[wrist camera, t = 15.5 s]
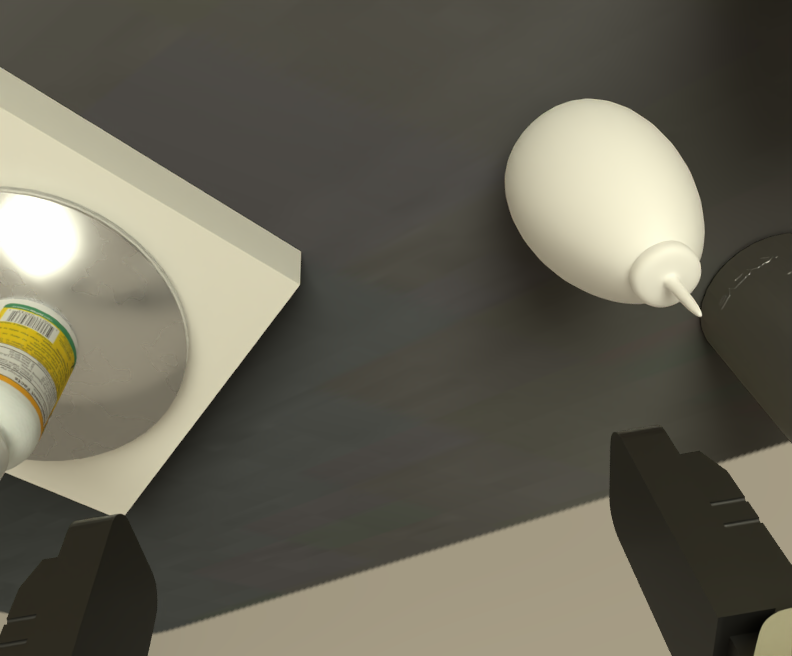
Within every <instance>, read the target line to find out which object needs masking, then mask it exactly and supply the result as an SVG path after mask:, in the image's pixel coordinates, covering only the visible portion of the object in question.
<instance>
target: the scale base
mask: <svg viewBox="0 0 792 656" xmlns="http://www.w3.org/2000/svg"><path fill="white" fill-rule="evenodd" d="M0 186H10V187H17V188H25V189H32V190H36V191H40V192H44V193H48V194H52V195H56V196H59V197H62V198H64V199H67V200H70V201H73V202H75V203H78V204H80V205H82V206H84V207H86V208H88V209H90V210H92V211H94V212H96V213H98V214H100V215H102V216H104V217H105V218H107V219H108V220H110V221H111V222H113V223H115V224H116V225H118V226H119V227H121V228H122V229H123V230H125V231H126V232H127V233H128V234H129V235H131V236H132V237H133V238H134V239H136V240H137V241H138V242H139V243H140V244H141V245H142V246H143V247H144V248H145V249H146V250H147V251H148V252H149V253H150V254H151V255H152V256H153V257H154V259H155V260H156V261H157V262H158V264H159V265H160V266H161V268H162V269H163V270H164V272H165V273H166V274H167V276H168V278H169V279H170V281H171V283H172V285H173V286H174V288H175V290H176V292H177V294H178V297H179V299H180V302H181V304H182V306H183V310H184V314H185V317H186V321H187V326H188V337H189V349H188V360H187V364H186V368H185V373H184V377H183V381H182V383H181V386H180V388H179V391H178V393H177V396H176V397H175V399H174V401H173V402H172V404H171V406H170V407H169V409H168V410H167V411H166V413H165V414H164V415H163V416H162V417H161V418H160V420H159V421H158V422H157V423H156V424H154V425H153V426H152V427H151V428H150V429H149V430H147V431H146V432H145V433H144V434H142V435H141V436H139V437H137V438H136V439H134V440H133V441H131V442H129V443H127V444H125V445H123V446H121V447H119V448H117V449H114V450H111V451H108V452H105V453H102V454H99V455H95V456H91V457H86V458H82V459H74V460H65V461H36V460H24V461H23V462H22V463H21V464H19V465H18V466H16V467H14V468H12V469H10V470H7V471H5V473H8V474H10V475H13V476H15V477H18V478H20V479H23V480H25V481H27V482H30V483H32V484H35V485H37V486H40V487H42V488H45V489H47V490H49V491H52V492H54V493H57V494H59V495H62V496H64V497H67V498H69V499H71V500H74V501H76V502H79V503H81V504H84V505H86V506H89V507H91V508H93V509H96V510H98V511H101V512H103V513H106V514H108V515H114V514H123V515H125V514H126V513H127V512H128V510H129V509H130V508H131V506H132V505H133V504H134V503H135V501H136V500H137V499H138V497H139V496H140V495H141V493H142V492H143V491H144V489H145V488H146V487H147V485H148V484H149V483H150V481H151V480H152V479H153V478H154V476H155V475H156V474H157V472H158V471H159V470H160V468H161V467H162V466H163V464H164V463H165V462H166V460H167V459H168V458H169V456H170V455H171V454H172V453H173V451H174V450H175V449H176V447H177V446H178V445H179V443H180V442H181V441H182V439H183V438H184V437H185V435H186V434H187V433H188V431H189V430H190V429H191V428H192V426H193V425H194V424H195V422H196V421H197V420H198V418H199V417H200V416H201V414H202V413H203V412H204V410H205V409H206V408H207V406H208V405H209V404H210V403H211V401H212V400H213V399H214V397H215V396H216V395H217V393H218V392H219V391H220V389H221V388H222V387H223V385H224V384H225V383H226V382H227V380H228V379H229V378H230V376H231V375H232V374H233V372H234V371H235V370H236V368H237V367H238V366H239V364H240V363H241V362H242V360H243V359H244V358H245V357H246V355H247V354H248V353H249V351H250V350H251V349H252V347H253V346H254V345H255V343H256V342H257V341H258V339H259V338H260V337H261V335H262V334H263V333H264V332H265V330H266V329H267V328H268V326H269V325H270V324H271V322H272V321H273V320H274V318H275V317H276V316H277V314H278V313H279V312H280V310H281V309H282V308H283V307H284V305H285V304H286V303H287V301H288V300H289V299H290V297H291V296H292V295H293V293H294V292H295V291H296V289H297V288H298V287H299V285H300V271H301V251H299V250H298V249H296V248H294V247H293V246H291V245H289V244H288V243H286V242H285V241H283V240H281V239H280V238H278V237H276V236H275V235H273V234H271V233H270V232H268V231H267V230H265V229H263V228H262V227H260V226H258V225H257V224H255V223H254V222H252V221H250V220H249V219H247V218H245V217H244V216H242V215H240V214H239V213H237V212H236V211H234V210H232V209H231V208H229V207H227V206H226V205H224V204H223V203H221V202H219V201H218V200H216V199H214V198H213V197H211V196H209V195H208V194H206V193H205V192H203V191H201V190H200V189H198V188H196V187H195V186H193V185H192V184H190V183H188V182H187V181H185V180H183V179H182V178H180V177H178V176H177V175H175V174H174V173H172V172H170V171H169V170H167V169H165V168H164V167H162V166H161V165H159V164H157V163H156V162H154V161H152V160H151V159H149V158H148V157H146V156H144V155H143V154H141V153H139V152H138V151H136V150H134V149H133V148H131V147H130V146H128V145H126V144H125V143H123V142H121V141H120V140H118V139H117V138H115V137H113V136H112V135H110V134H108V133H107V132H105V131H103V130H102V129H100V128H99V127H97V126H95V125H94V124H92V123H90V122H89V121H87V120H86V119H84V118H82V117H81V116H79V115H77V114H76V113H74V112H72V111H71V110H69V109H68V108H66V107H64V106H63V105H61V104H59V103H58V102H56V101H55V100H53V99H51V98H50V97H48V96H46V95H45V94H43V93H41V92H40V91H38V90H37V89H35V88H33V87H32V86H30V85H28V84H27V83H25V82H24V81H22V80H20V79H19V78H17V77H15V76H14V75H12V74H11V73H9V72H7V71H6V70H4V69H2V68H1V67H0Z"/></svg>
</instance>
